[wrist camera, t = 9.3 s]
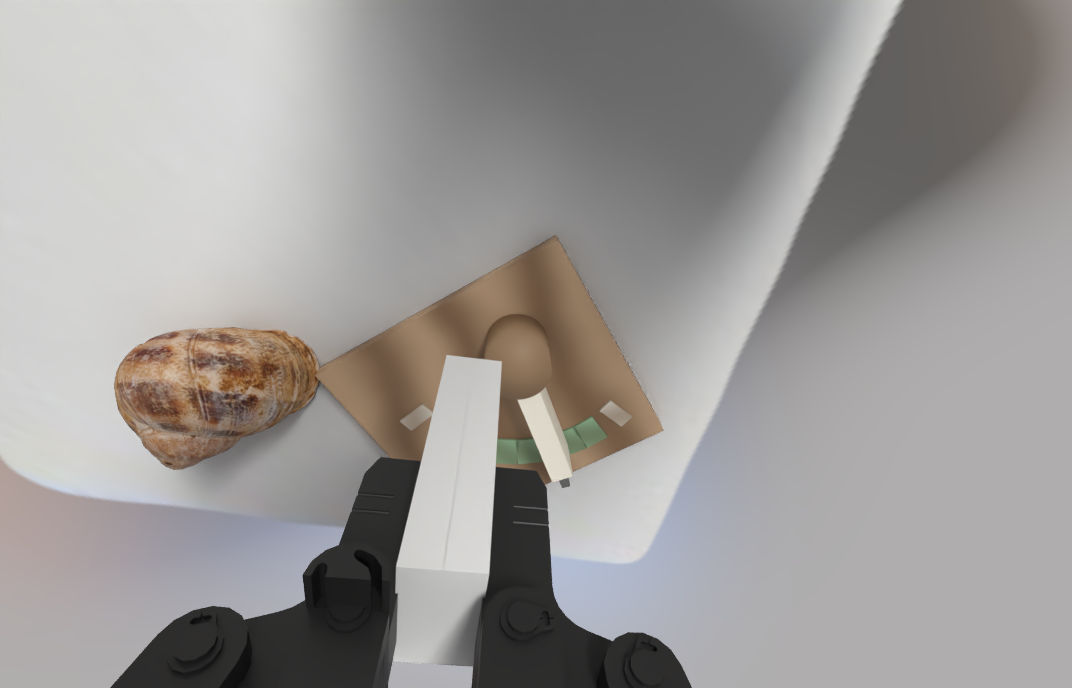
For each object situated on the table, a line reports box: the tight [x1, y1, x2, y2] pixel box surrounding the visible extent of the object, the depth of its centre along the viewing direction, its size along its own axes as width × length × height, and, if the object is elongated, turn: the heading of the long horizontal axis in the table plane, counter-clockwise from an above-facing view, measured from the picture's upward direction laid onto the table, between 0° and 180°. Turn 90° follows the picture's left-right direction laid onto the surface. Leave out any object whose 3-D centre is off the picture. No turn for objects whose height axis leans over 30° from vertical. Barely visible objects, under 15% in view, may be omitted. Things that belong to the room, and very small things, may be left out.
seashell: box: [114, 327, 319, 470], centre depth 36 cm, size 10×9×10 cm
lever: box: [484, 314, 573, 488], centre depth 37 cm, size 13×4×4 cm, turn 18°
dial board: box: [315, 236, 663, 485], centre depth 40 cm, size 20×18×1 cm
